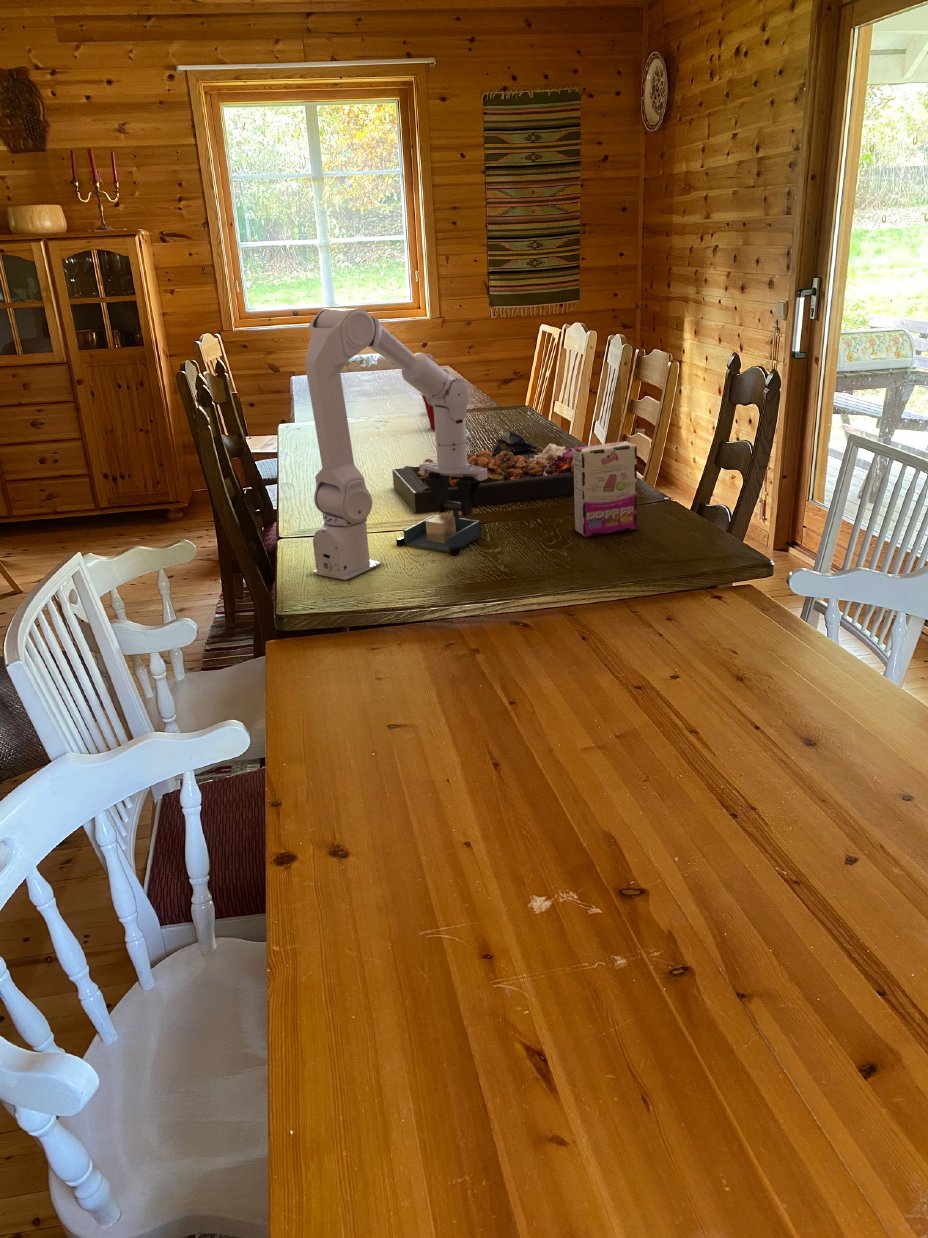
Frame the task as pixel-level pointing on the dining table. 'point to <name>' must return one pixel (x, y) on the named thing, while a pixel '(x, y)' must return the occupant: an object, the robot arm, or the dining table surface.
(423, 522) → the tray
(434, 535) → the block
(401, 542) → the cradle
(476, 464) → the food platter
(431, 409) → the plastic cup
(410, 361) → the robot arm
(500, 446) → the snack package
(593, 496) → the candy bar box
